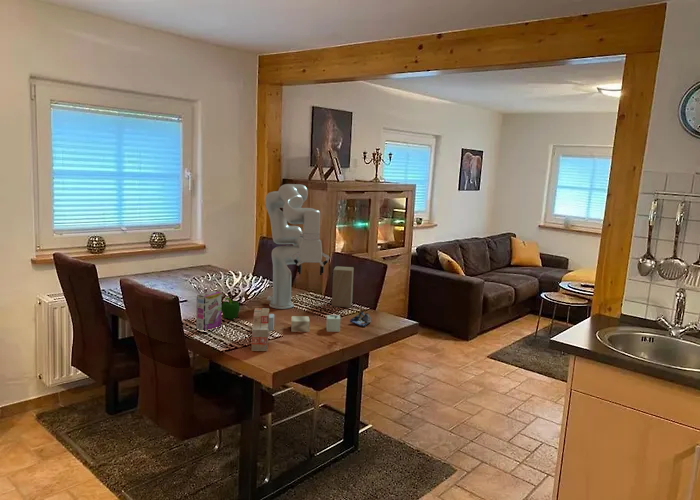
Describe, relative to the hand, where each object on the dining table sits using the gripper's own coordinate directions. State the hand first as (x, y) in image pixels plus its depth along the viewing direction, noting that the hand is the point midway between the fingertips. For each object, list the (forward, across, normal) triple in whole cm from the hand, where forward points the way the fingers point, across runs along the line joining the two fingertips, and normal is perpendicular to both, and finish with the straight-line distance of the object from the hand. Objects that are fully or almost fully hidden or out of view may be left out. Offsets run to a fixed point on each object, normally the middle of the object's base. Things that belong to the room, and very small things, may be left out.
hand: (310, 274), depth 247 cm
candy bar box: (+25, -44, -10) cm, 51 cm away
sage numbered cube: (+25, +11, -4) cm, 27 cm away
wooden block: (+24, +15, +41) cm, 50 cm away
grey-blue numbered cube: (+25, -19, -6) cm, 31 cm away
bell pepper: (+24, -38, +8) cm, 46 cm away
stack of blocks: (+25, -18, -26) cm, 40 cm away
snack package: (+25, +25, +8) cm, 36 cm away
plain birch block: (+25, -4, -5) cm, 25 cm away
